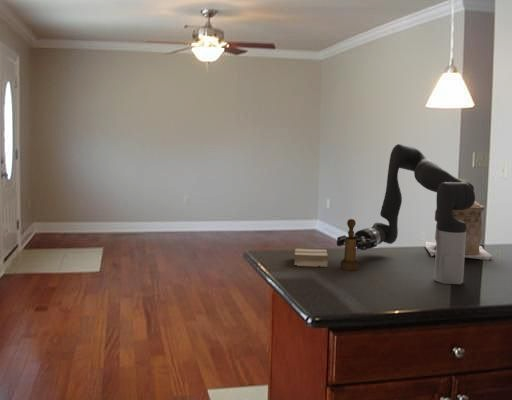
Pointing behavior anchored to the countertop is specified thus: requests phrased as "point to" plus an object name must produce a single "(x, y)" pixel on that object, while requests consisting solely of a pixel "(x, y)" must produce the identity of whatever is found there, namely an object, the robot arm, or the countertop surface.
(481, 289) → the countertop surface
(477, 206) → the brown stone tower
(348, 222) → the mortar and pestle
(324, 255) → the plinth
